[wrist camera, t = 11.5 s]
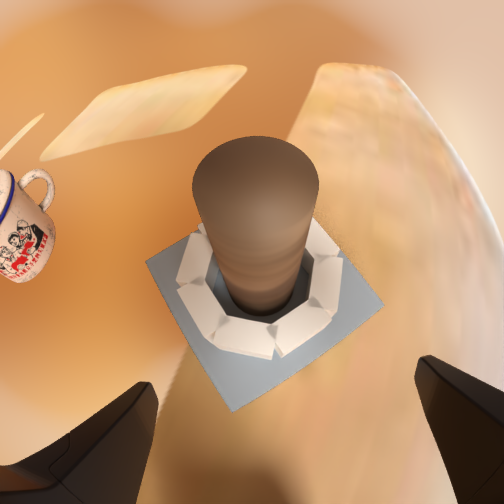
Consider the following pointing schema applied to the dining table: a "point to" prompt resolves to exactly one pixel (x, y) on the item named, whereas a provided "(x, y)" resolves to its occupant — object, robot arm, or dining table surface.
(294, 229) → the walnut peg
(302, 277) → the socket plate
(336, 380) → the dining table surface
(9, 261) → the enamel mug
